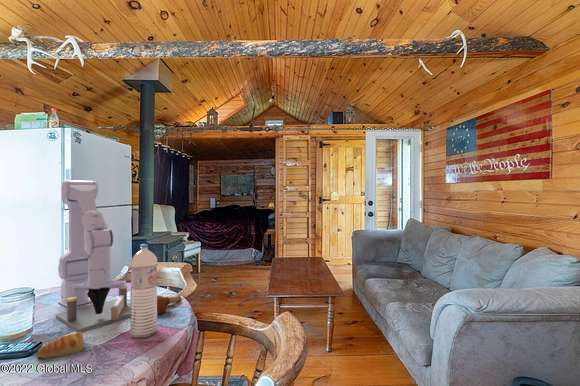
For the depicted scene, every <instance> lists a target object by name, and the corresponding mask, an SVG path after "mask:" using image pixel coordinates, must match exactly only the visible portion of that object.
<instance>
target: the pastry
mask: <svg viewBox="0 0 580 386" xmlns="http://www.w3.org/2000/svg"><path fill="white" fill-rule="evenodd" d="M83 337H84V336H83V332H78V331H77V332H76V333H72V334H71V333H70V334H67V335H62V336H60V338H56V339H55V340H53V341H49V343H46V344H44V345H42V346H41V347H40V348H39V349H38V352H37V357H38V358H40V359H45V360H46V359H51V358H59V357H63V356H67V355H72V354H75V353H78V352H81V351H83V350H84V348H85V340H84V338H83Z"/></svg>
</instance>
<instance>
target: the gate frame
mask: <svg viewBox="0 0 580 386" xmlns="http://www.w3.org/2000/svg"><path fill="white" fill-rule="evenodd" d="M117 289H118V298H119V296H120V295H124V307H123V308H122V310H121V312H120V314H119V318H118V319H116V320H111V307H112V306H114V304H115V302H116V301H117V299H118V298H114V299H110V300H105V303H104V306H103V312H102V313H101V314H96V313H95V309H94V306H93V304H92V305H91V304H90V305H87V306H83V307H80V308H77V307H78V306H77V300H78V298H77V297H71V298H67V299H66V302H67V307H66V311H64V312H61V313H57V314H55V319H57V320H59V321H60V322H61V323H63V324H65V325H67V326H68V327H70V328H71V329H73V330H74V331H76V332H77V333H78V332H82V333H83V332H86V331H89V330H90V331H91V330H92V329H95V328H98V327H102V326H106V325H107V324H112V323H115V322H117V321H121V320H123V319H127V318H131V317H130V316H131V314H130V312H131V311H130V309H131V307H130V306H131V304H130V303H131V302H128V298H127V297H128V285H127V284H126V287H125V288H117Z"/></svg>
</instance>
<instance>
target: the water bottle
mask: <svg viewBox="0 0 580 386" xmlns="http://www.w3.org/2000/svg"><path fill="white" fill-rule="evenodd" d="M148 247H149V245H148V244H147V243H142V244H140V249H139V250H138V251H137V252H135V254H134V255H133V256H132V258H130V295H129V296H130V302H129V303H130V304H131V306H130V307H131V309H130V311H131V312H130V314H131V316H130V317H129V318H130V319H129V321H130V336H131V337H132V338H136V339H144V338H148V337H151V336H153V335H154V334H156V332H157V328H158V314H157V296H158V285H157V284H158V282H157V281H158V280H157V279H158V276H157V275H158V271H157V270H158V269H157V268H158V267H157V266H158V258H157V256H156V255H155V253H154V252H152V251H151V250H149V249H148Z"/></svg>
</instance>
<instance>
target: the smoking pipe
mask: <svg viewBox="0 0 580 386" xmlns="http://www.w3.org/2000/svg"><path fill="white" fill-rule="evenodd" d="M180 298H181V294H180V293H177V294H176V296H175V295H174V296H162V295H157V315H160V314H164V313H166V312H167V311H168V305H171V304H175V303H177V302H179V301H180Z"/></svg>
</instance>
